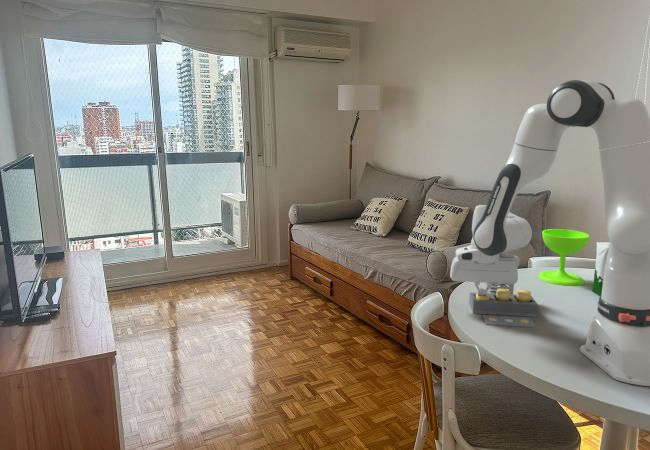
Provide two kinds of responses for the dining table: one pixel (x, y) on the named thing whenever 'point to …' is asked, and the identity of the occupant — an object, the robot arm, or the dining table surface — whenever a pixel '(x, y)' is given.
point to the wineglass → (563, 254)
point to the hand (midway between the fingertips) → (481, 294)
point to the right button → (523, 296)
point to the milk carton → (600, 266)
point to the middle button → (502, 295)
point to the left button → (482, 297)
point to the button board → (505, 310)
